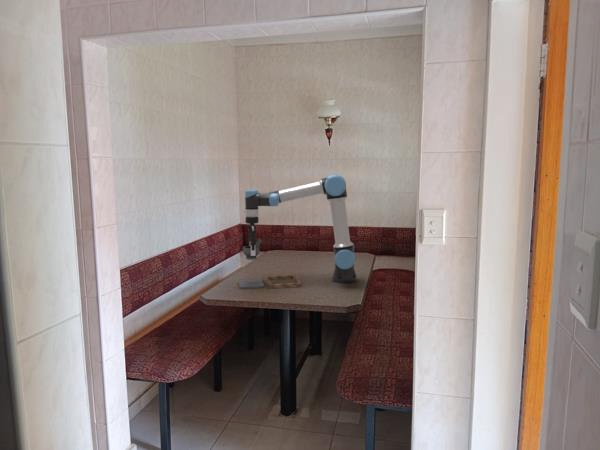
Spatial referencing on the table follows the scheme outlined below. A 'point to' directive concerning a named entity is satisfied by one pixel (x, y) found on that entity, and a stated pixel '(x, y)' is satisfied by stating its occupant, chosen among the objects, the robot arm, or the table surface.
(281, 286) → the frame
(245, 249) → the mortar and pestle
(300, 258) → the table surface
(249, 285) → the rubber mat
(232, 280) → the table surface
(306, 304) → the table surface
